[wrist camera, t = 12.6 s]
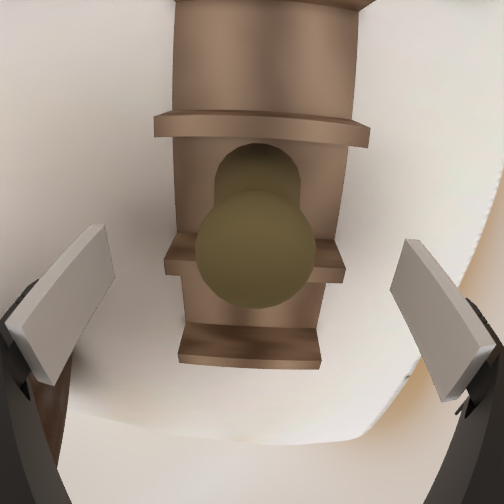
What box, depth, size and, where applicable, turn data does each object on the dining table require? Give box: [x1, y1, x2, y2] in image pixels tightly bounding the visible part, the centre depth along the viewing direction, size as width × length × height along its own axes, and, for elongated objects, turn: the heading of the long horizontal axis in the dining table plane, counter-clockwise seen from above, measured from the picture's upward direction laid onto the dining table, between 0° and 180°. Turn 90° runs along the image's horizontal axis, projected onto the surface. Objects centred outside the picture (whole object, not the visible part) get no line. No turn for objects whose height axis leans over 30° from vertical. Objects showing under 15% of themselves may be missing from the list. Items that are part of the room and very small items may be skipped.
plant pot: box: [27, 354, 72, 468], centre depth 26 cm, size 15×15×16 cm
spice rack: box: [154, 0, 375, 369], centre depth 20 cm, size 12×29×5 cm, turn 178°
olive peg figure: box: [195, 143, 316, 309], centre depth 17 cm, size 6×6×11 cm
